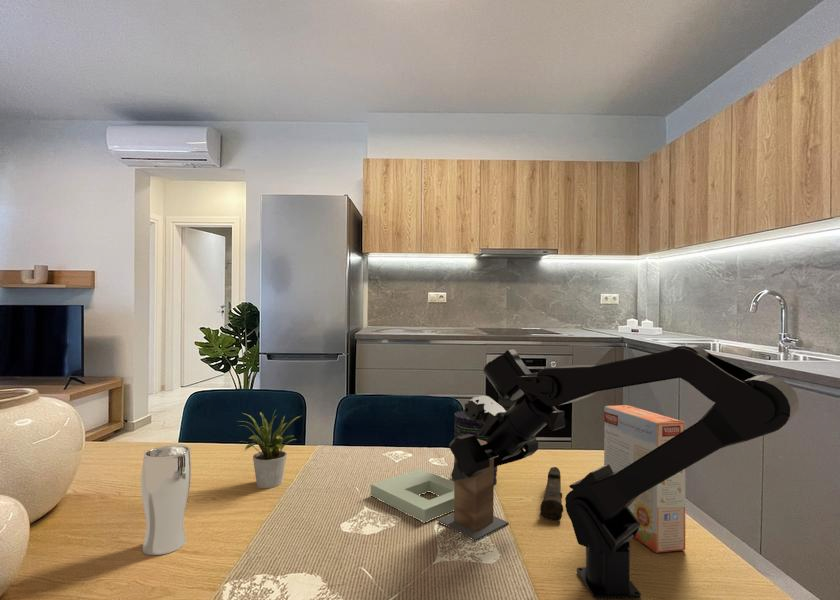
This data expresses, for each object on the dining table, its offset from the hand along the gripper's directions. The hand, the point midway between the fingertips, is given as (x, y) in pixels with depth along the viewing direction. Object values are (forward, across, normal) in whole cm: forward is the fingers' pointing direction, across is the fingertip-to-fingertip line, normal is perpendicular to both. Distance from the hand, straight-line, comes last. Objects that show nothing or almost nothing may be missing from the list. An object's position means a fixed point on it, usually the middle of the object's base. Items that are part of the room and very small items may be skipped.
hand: (470, 471), depth 81 cm
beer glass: (+26, +43, -13) cm, 52 cm away
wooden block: (+5, 0, +7) cm, 9 cm away
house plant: (+36, +20, -23) cm, 47 cm away
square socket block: (+15, 0, -3) cm, 16 cm away
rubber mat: (+6, 0, +7) cm, 9 cm away
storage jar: (+15, -16, -2) cm, 23 cm away
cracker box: (-9, -20, +22) cm, 31 cm away
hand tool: (+3, -20, +10) cm, 23 cm away
